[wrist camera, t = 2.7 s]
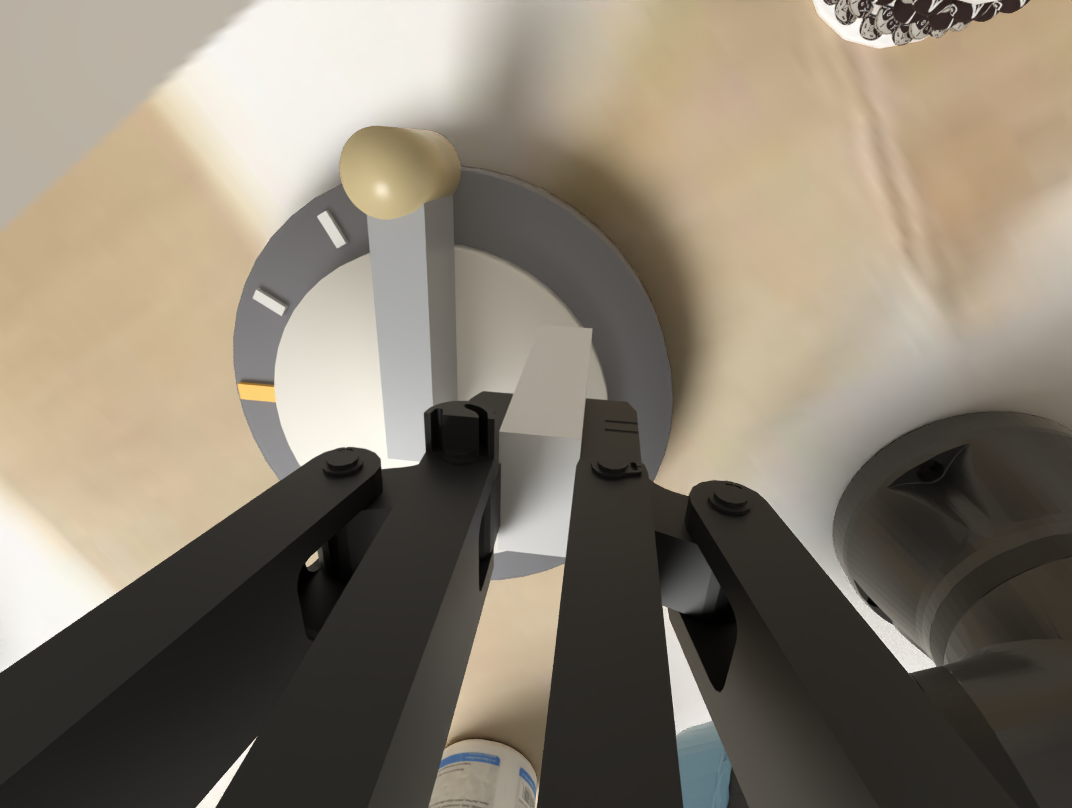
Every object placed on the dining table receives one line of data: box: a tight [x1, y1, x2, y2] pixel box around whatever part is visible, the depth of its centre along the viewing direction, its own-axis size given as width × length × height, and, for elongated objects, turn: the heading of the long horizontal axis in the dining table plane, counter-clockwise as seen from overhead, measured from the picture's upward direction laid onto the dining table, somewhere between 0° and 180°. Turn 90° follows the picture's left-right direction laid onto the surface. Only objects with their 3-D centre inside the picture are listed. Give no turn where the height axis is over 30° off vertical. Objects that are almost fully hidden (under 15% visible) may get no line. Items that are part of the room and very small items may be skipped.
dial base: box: [233, 166, 673, 580], centre depth 34 cm, size 26×26×3 cm
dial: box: [274, 126, 608, 553], centre depth 28 cm, size 24×19×7 cm
